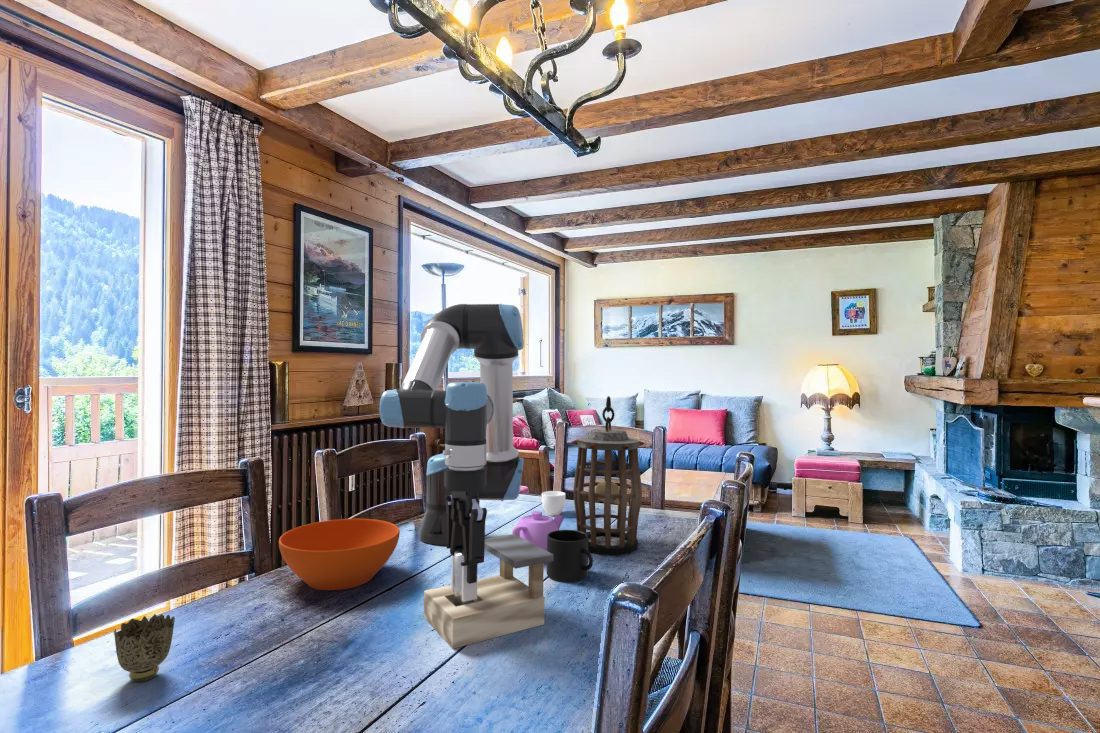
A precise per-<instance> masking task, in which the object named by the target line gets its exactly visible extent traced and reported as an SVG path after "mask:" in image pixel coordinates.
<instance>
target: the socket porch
mask: <svg viewBox="0 0 1100 733" xmlns="http://www.w3.org/2000/svg"><path fill="white" fill-rule="evenodd" d="M484 551H486V552H488V553H489V554H491V555H493V557H494V556H495V557H496V558H498V559H499V575H493V576H490V577H485V578H481V579H480V578H479V579H477V599H474V603H470V604H465V605H461V606H457V607H456V606H455V605H454V592H451V584H450V585H445V586H440V587H436V588H430V589H426V590H424V591H423V618H424V620H426V621H427V623H428V624H429V625H430V626H431V627H432V628H433V629H434V630H435V631H436V632H437V634H438V635H439V636H441V638H442V640H444V641H445V643H447V644H448V645H449V647H451V649H452V650H454V649H457V648H461V647H464V646H468V645H472V644H476V643H479V642H483V641H486V640H491V639H495V638H497V637H498V638H499V637H501V636H505V635H509V634H513V633H516V632H517V633H518V632H521V631H524V630H527V629H532V628H535V627H536V628H537V627H539V626H542V625H545V613H546V612H545V611H546V610H545V603H546V602H545V599H546V598H545V596H544V568H545V567H544V566H545V565H544V564H545V563H546V564H547V562H551V561H553V556H554V555H553V554H551V553H550V552H548V551H546V550H544V549H542V548H540V547H538V546H536V545H534V544H532V543H531V542H529V541H527V540H525V539H523V538H521V537H519V536H517V535H515V534H512V533H511V534H506V535H501V536H494V537H490V538H489V537H488V538H485V548H484ZM527 567H528V585H527V584H526V583H524V582H522V581H521V580H520V579H518V578H517V577H516V576H514V569H521V568H527Z"/></svg>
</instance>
